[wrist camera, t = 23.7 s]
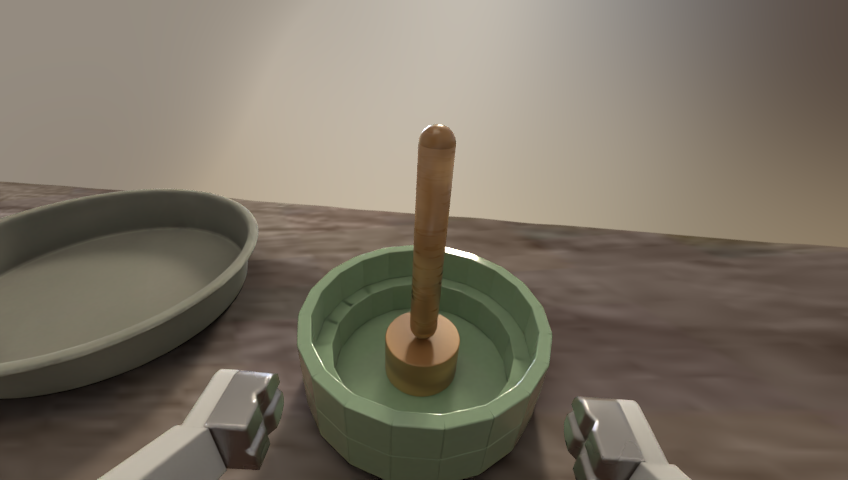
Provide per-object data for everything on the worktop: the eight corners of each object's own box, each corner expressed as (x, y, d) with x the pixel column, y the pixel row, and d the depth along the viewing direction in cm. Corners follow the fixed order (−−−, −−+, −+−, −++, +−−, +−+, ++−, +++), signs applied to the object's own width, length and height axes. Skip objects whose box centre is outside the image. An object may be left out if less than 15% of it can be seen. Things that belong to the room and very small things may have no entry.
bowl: (479, 291, 35) (488, 237, 32) (578, 454, 22) (610, 391, 19) (308, 314, 31) (299, 255, 28) (308, 529, 18) (293, 465, 15)
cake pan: (-153, 318, 28) (-202, 270, 25) (177, 204, 46) (166, 170, 44) (-52, 522, 18) (-119, 473, 15) (320, 272, 36) (316, 232, 33)
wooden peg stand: (443, 334, 29) (468, 112, 20) (465, 388, 25) (510, 138, 16) (379, 345, 27) (377, 112, 19) (392, 404, 23) (397, 141, 14)
